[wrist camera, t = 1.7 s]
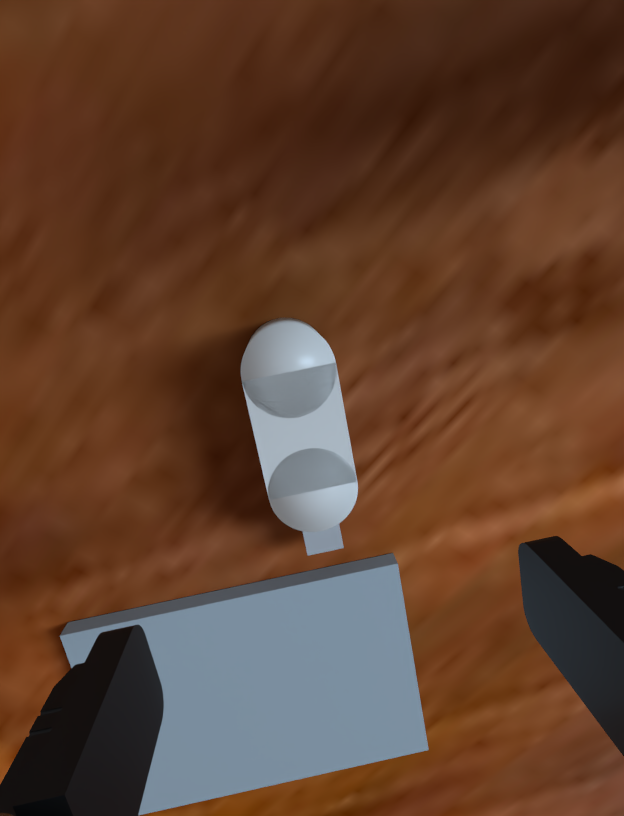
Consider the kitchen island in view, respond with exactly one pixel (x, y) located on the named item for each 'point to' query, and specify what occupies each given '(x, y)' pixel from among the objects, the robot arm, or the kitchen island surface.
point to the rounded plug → (300, 430)
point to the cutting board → (274, 680)
